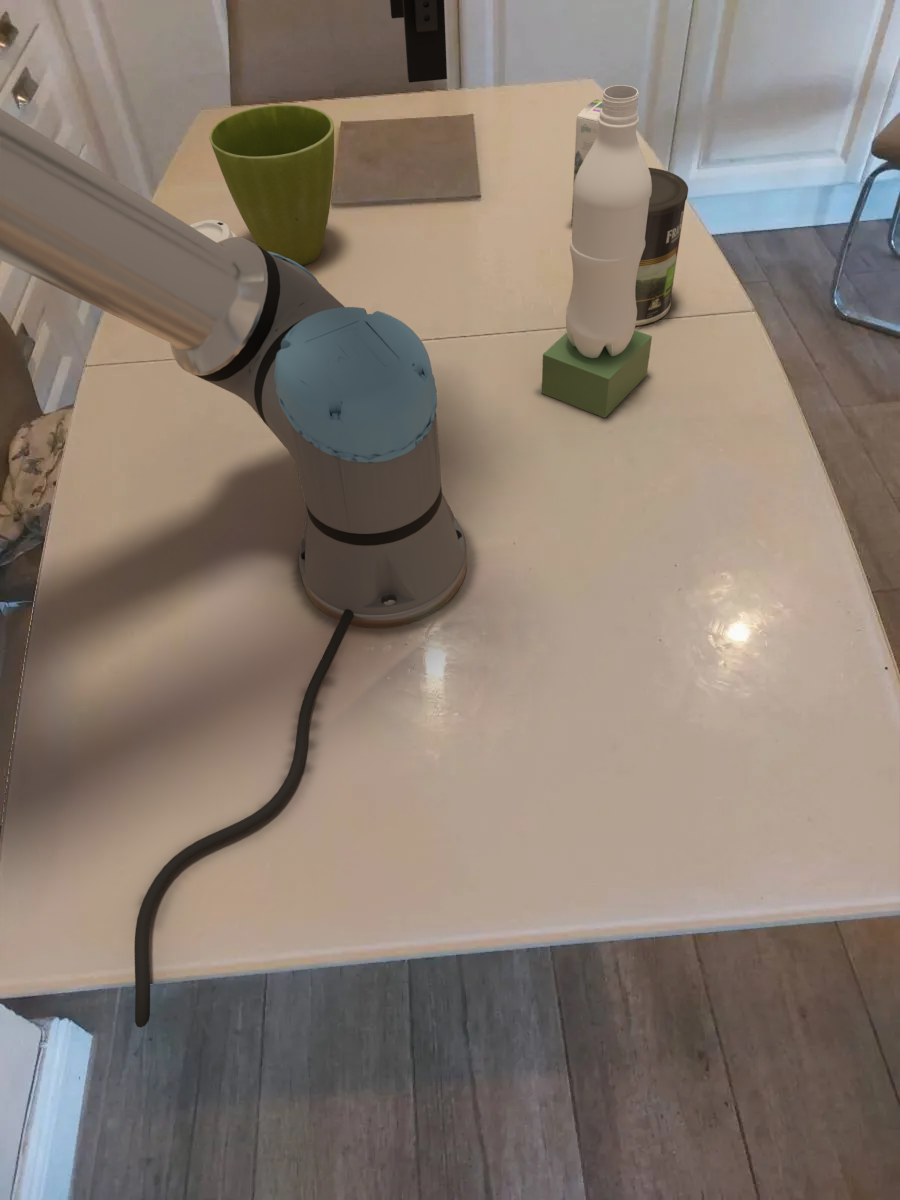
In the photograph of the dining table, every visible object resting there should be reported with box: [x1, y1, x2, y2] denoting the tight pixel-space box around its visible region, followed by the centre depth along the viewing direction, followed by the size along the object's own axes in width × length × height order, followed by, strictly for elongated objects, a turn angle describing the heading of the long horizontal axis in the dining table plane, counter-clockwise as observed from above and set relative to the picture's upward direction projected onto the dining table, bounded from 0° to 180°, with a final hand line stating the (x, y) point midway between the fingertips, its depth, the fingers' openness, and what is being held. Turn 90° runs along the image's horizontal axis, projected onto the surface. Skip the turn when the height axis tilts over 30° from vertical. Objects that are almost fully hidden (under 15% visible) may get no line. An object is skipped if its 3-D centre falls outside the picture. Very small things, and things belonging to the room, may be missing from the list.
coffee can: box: [635, 167, 689, 327], centre depth 105 cm, size 10×10×14 cm
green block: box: [541, 329, 653, 419], centre depth 98 cm, size 9×8×5 cm
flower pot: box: [209, 104, 335, 267], centre depth 115 cm, size 15×15×16 cm
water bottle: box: [565, 84, 652, 358], centre depth 87 cm, size 7×7×25 cm
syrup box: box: [570, 98, 603, 226], centre depth 117 cm, size 6×6×14 cm
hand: (417, 45), depth 69 cm, fingers open, 13 cm apart
